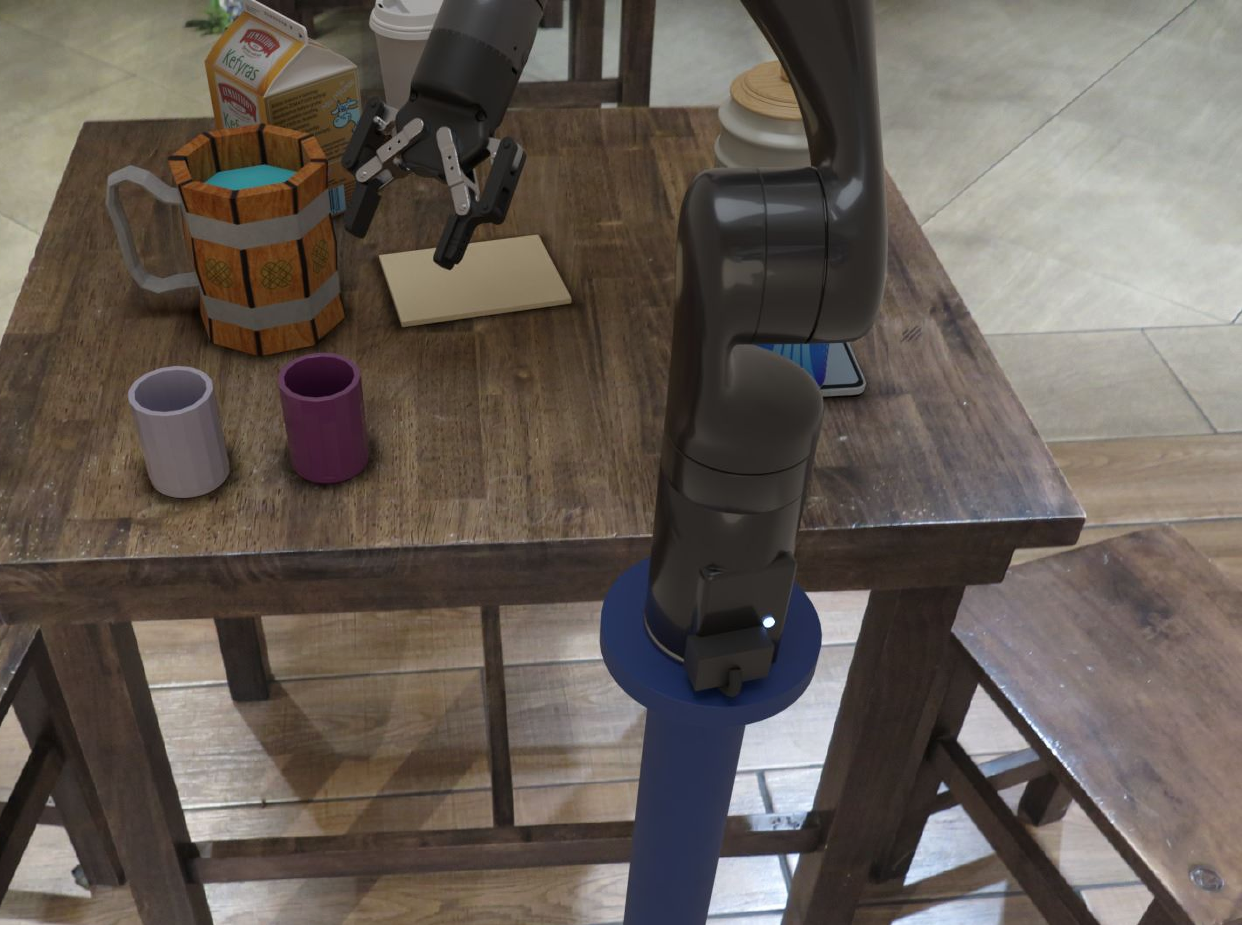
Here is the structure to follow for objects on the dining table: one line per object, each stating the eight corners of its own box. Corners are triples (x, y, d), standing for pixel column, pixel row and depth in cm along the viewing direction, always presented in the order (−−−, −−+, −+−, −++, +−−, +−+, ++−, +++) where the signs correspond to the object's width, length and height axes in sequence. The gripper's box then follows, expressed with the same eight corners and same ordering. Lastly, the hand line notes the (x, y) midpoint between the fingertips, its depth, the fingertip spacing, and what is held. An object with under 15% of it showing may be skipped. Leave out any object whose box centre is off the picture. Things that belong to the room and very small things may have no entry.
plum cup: (375, 476, 100) (366, 393, 94) (296, 489, 99) (283, 406, 93) (362, 429, 104) (353, 347, 98) (286, 441, 103) (273, 359, 97)
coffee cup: (383, 121, 144) (373, -17, 134) (467, 122, 144) (463, -16, 133) (374, 160, 137) (362, 18, 127) (462, 161, 137) (457, 19, 127)
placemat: (571, 303, 117) (571, 298, 117) (401, 327, 114) (401, 322, 114) (538, 239, 125) (538, 234, 125) (379, 260, 123) (378, 255, 122)
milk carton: (228, 197, 132) (195, 9, 118) (312, 166, 136) (290, -18, 123) (283, 236, 126) (255, 43, 112) (370, 202, 131) (352, 14, 117)
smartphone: (783, 392, 106) (746, 292, 116) (781, 401, 107) (745, 301, 117) (869, 388, 107) (825, 288, 117) (867, 397, 107) (823, 297, 118)
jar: (825, 199, 131) (858, 26, 119) (844, 265, 122) (881, 85, 110) (700, 197, 131) (719, 24, 119) (709, 263, 122) (731, 82, 110)
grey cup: (233, 491, 98) (215, 408, 93) (152, 504, 97) (129, 421, 92) (226, 442, 103) (209, 360, 97) (148, 454, 102) (126, 372, 96)
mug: (355, 276, 121) (339, 124, 110) (335, 358, 111) (316, 200, 100) (151, 272, 121) (116, 120, 111) (114, 353, 112) (71, 196, 101)
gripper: (379, 6, 96) (299, 208, 97) (537, 48, 90) (450, 261, 92) (424, 53, 103) (349, 241, 104) (574, 94, 97) (493, 292, 98)
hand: (397, 250), depth 98 cm, fingers open, 8 cm apart
